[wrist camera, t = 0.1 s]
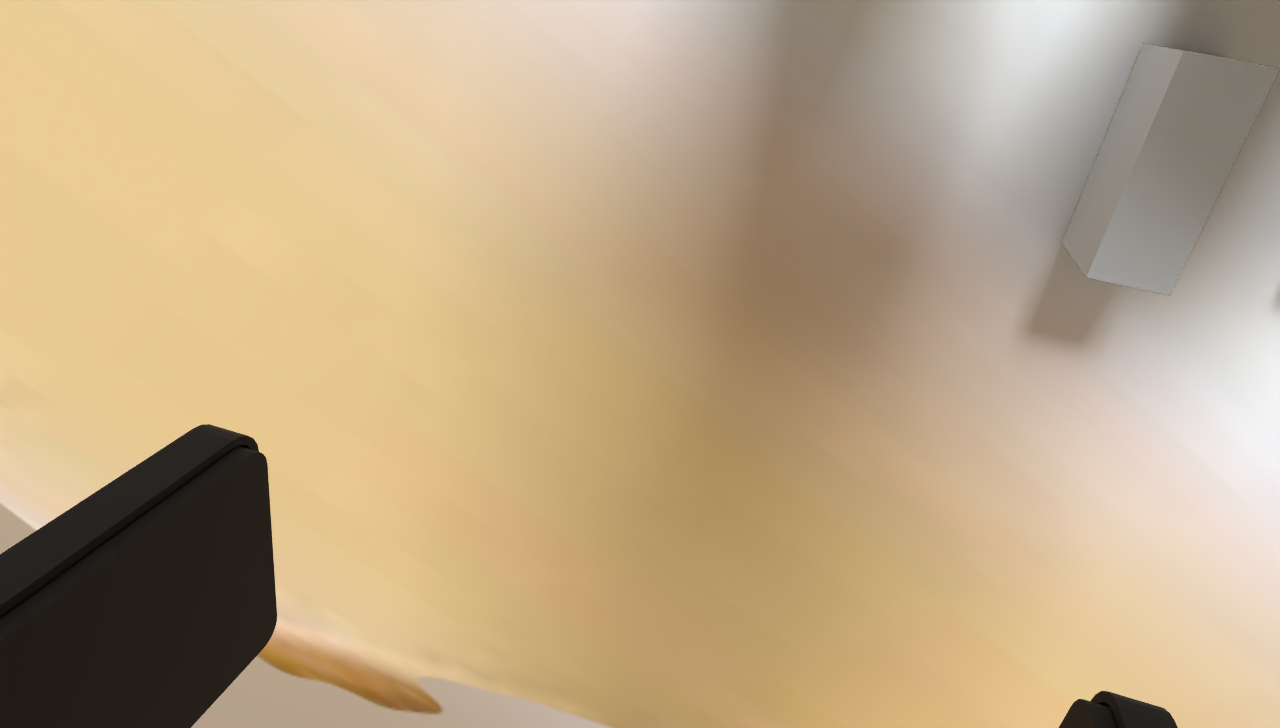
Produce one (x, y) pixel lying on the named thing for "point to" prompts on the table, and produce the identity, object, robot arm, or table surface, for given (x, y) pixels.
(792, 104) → the table surface
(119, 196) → the table surface
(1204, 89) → the rectangular block
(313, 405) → the table surface
